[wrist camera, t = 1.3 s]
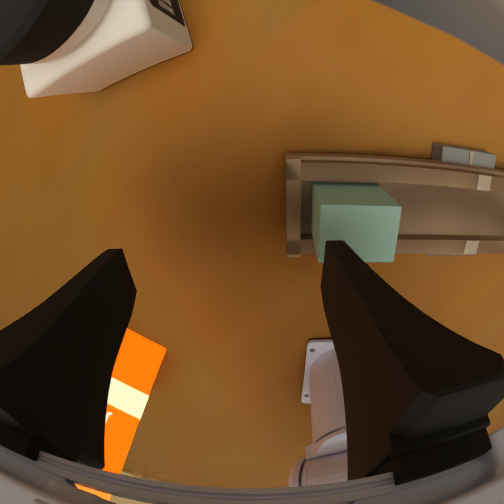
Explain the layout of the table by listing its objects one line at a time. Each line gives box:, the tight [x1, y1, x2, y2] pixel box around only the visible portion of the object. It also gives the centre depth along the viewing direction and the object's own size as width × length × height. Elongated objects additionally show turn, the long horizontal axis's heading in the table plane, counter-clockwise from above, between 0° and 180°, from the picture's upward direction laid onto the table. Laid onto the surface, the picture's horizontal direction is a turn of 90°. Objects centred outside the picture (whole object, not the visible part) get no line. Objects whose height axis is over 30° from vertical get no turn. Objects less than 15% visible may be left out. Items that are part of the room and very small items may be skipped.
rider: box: [311, 182, 402, 263], centre depth 16 cm, size 3×4×4 cm
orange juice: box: [75, 329, 166, 501], centre depth 21 cm, size 8×9×20 cm
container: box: [0, 0, 192, 98], centre depth 10 cm, size 8×8×13 cm
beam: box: [285, 143, 504, 257], centre depth 18 cm, size 8×26×4 cm, turn 93°
